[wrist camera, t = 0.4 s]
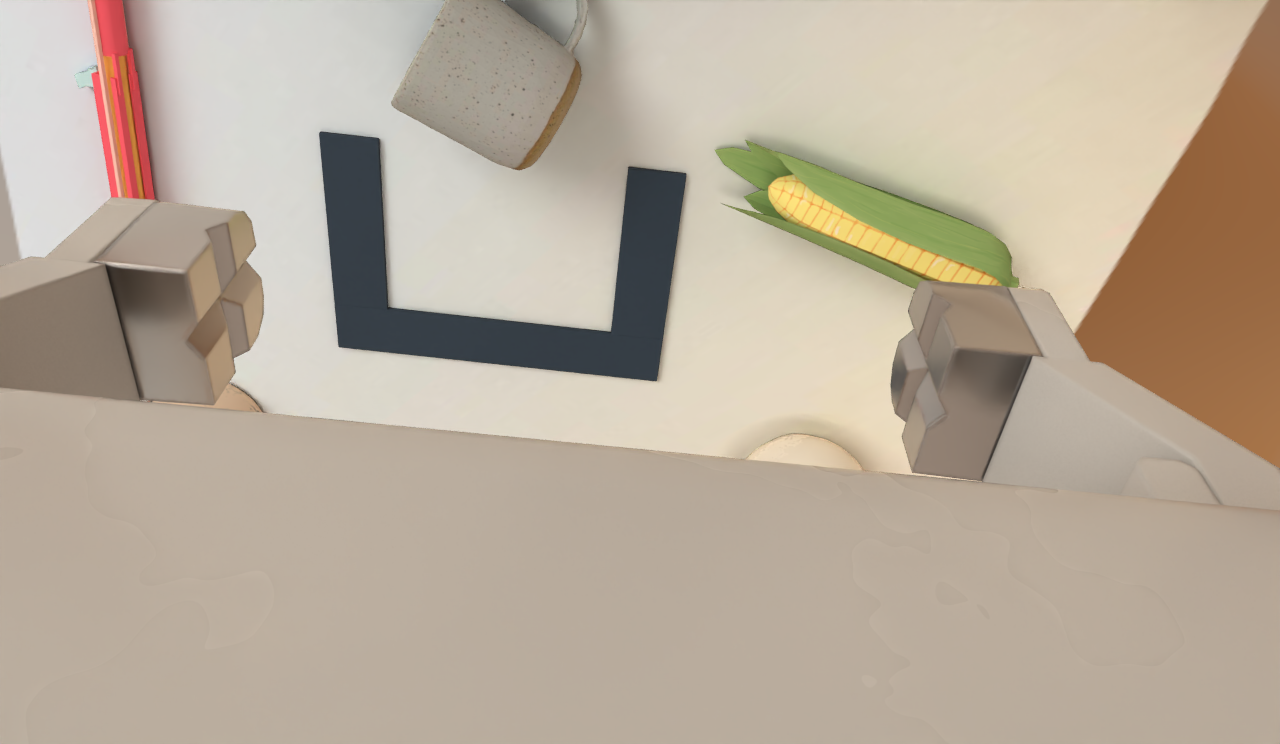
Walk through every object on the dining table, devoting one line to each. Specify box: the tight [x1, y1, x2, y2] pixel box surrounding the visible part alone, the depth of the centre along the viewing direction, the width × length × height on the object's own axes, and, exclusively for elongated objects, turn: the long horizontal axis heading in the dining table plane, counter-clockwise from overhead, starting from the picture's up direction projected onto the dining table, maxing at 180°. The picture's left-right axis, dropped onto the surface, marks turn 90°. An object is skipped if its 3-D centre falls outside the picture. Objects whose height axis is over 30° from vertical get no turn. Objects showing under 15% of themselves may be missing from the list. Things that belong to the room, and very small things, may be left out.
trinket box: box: [746, 434, 864, 471], centre depth 68 cm, size 11×11×9 cm
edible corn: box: [715, 140, 1019, 289], centre depth 58 cm, size 5×20×4 cm, turn 67°
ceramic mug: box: [391, 0, 588, 170], centre depth 51 cm, size 11×8×8 cm
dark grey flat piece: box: [319, 132, 686, 381], centre depth 63 cm, size 16×22×1 cm
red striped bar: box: [75, 0, 155, 200], centre depth 56 cm, size 24×2×5 cm
